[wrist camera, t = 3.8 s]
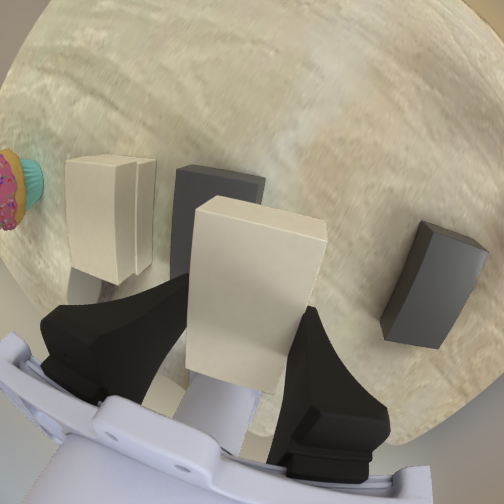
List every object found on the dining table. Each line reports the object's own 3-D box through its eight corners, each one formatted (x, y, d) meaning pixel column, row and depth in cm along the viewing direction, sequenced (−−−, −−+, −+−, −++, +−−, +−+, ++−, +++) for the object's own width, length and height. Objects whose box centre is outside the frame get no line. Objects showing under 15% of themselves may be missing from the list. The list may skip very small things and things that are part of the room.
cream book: (280, 363, 16) (273, 395, 13) (200, 340, 16) (184, 368, 14) (326, 220, 12) (328, 241, 10) (216, 194, 13) (194, 208, 10)
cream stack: (152, 262, 24) (120, 291, 19) (105, 248, 24) (71, 271, 20) (157, 157, 20) (116, 165, 15) (105, 151, 20) (63, 160, 16)
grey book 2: (430, 331, 20) (438, 349, 18) (379, 321, 21) (384, 340, 19) (474, 239, 16) (489, 252, 14) (421, 220, 17) (433, 231, 15)
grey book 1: (245, 289, 22) (237, 306, 20) (182, 271, 23) (169, 286, 21) (266, 177, 19) (259, 183, 16) (191, 164, 19) (176, 168, 17)
